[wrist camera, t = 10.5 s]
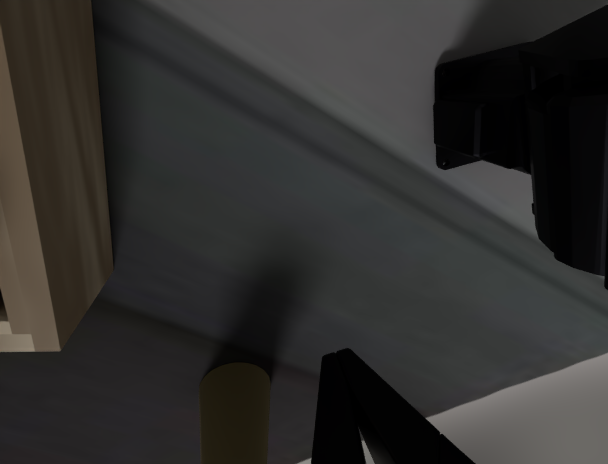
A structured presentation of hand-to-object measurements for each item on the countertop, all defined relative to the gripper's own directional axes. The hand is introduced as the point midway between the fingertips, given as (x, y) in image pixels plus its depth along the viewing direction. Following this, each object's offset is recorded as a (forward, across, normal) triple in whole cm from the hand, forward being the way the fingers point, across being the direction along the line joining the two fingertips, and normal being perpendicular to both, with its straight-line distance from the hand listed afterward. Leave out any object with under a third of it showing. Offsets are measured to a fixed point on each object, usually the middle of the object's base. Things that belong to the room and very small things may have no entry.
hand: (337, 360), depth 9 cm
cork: (+13, +8, +15) cm, 22 cm away
